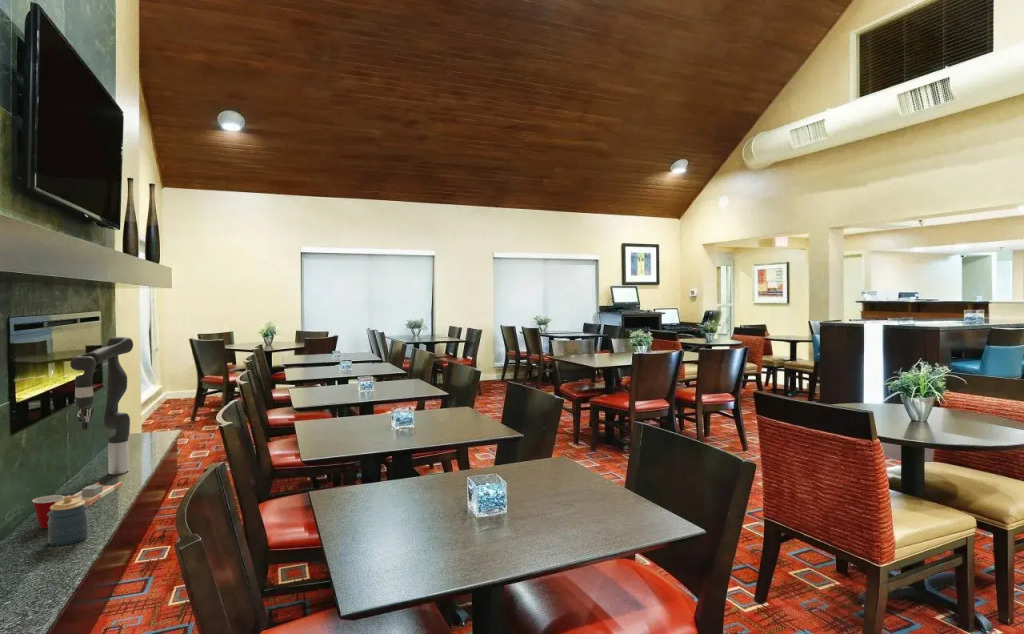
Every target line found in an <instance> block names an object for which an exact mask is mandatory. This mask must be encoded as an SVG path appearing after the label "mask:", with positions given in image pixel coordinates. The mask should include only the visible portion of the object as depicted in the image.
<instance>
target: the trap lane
mask: <svg viewBox="0 0 1024 634" xmlns="http://www.w3.org/2000/svg"><path fill="white" fill-rule="evenodd" d="M92 485H100V482H96V483H94V484H92ZM123 485H124V484H123V481H119V482H117V483H116V484H114V485H103V492H101V493H100V494H98V495H96V496H94V497H82V490H80V491H79V492H77V493H75V494H73V495H70V496H71V497H72V498H79V499H81V500H84V501H85V505H87V506H88V507H91V506H92V505H94V504H95V503H97V502H98V501H99V500H100V499H102V498H103V497H105V496H107V495H109V494H110V493H112V492H113V491H115V490H117V489H118V488H120V487H122V486H123ZM96 501H97V502H96ZM93 503H94V504H93Z"/></svg>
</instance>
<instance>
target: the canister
mask: <svg viewBox="0 0 1024 634" xmlns="http://www.w3.org/2000/svg"><path fill="white" fill-rule="evenodd" d="M71 496H72V495H66V496H64V497H65V498H64V499H63V500H61V501H58V502H56V503H55V504H54V505H52V506H51V507H50V509H51V511H49V512H48V513H47V515H48V516H49V521H48V522H47V523H48V528H47V531H48V532H47V542H48V545H50V546H53V545H62V546H66V545H67V544H68V545H72V543H73V544H76V543H78V542H81V540H82V541H83V540H86V538H88V536H89V533H90V531H89V514H88V512H87V511H88V509H89V506H87V505H85V501H84V500H81V499H79V498H72V497H71ZM68 545H67V546H68Z"/></svg>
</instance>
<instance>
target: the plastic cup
mask: <svg viewBox="0 0 1024 634" xmlns="http://www.w3.org/2000/svg"><path fill="white" fill-rule="evenodd" d="M65 497H66V496H64V495H57V494H56V495H55V494H54V495H45V496H40V497H36V498H33V499H32V500H31V501H32V503H33V505H34V510H35V513H36V518H37V521H38V525H39V528H40V527H41V528H40V529H48V523H47V522H48V521H49V516H48V515H47V513H48V512H49V511H51V509H50V507H51V506H52V505H54V504H55V503H56V502H58V501H61V500H64V498H65Z"/></svg>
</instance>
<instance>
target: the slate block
mask: <svg viewBox="0 0 1024 634" xmlns="http://www.w3.org/2000/svg"><path fill="white" fill-rule="evenodd" d="M103 486H104V485H103V484H99V485H93V484H89V485H87V486H86V487H84V488H82V489H81V491H82V497H94V496H96V495H98V494H100V493H101V492H103Z"/></svg>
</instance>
